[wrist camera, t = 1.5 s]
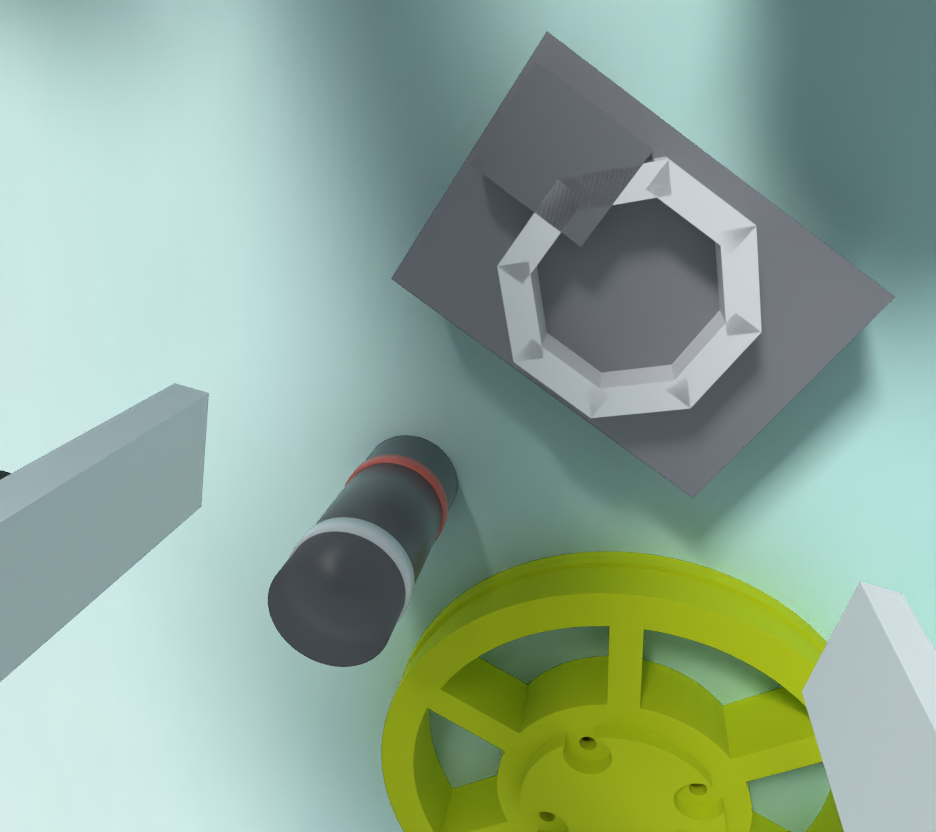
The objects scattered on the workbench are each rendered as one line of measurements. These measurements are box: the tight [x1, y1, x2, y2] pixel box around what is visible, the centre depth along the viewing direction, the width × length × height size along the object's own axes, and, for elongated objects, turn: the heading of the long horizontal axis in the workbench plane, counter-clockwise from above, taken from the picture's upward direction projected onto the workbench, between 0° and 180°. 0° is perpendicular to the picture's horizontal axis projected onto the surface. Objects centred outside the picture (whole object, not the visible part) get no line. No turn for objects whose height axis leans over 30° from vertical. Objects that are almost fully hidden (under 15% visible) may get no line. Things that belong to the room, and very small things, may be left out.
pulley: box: [382, 551, 844, 832], centre depth 42 cm, size 28×28×5 cm
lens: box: [268, 436, 457, 667], centre depth 34 cm, size 5×5×12 cm
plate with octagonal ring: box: [391, 32, 895, 498], centre depth 30 cm, size 16×11×7 cm
